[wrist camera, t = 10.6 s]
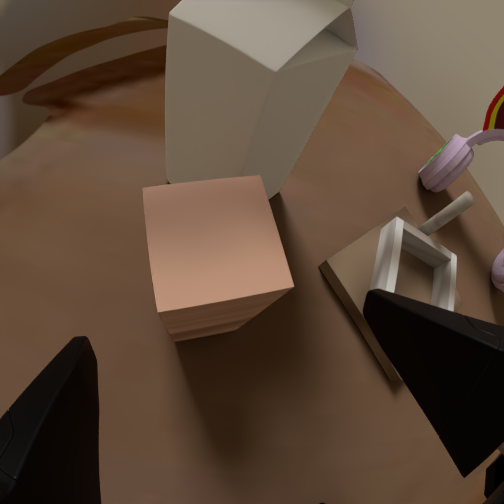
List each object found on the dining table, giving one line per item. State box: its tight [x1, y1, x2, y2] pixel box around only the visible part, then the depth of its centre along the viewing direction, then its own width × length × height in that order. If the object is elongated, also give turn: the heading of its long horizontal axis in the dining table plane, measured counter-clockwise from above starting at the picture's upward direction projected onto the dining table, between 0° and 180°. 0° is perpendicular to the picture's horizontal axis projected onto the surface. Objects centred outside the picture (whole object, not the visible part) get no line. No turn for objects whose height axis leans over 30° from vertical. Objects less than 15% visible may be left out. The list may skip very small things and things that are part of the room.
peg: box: [143, 175, 294, 342], centre depth 15 cm, size 4×4×12 cm
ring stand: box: [318, 191, 475, 381], centre depth 20 cm, size 12×12×10 cm
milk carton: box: [165, 0, 358, 200], centre depth 16 cm, size 7×7×19 cm
